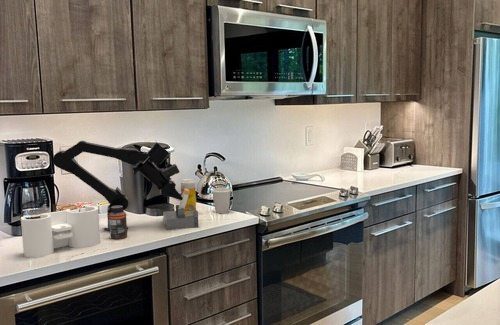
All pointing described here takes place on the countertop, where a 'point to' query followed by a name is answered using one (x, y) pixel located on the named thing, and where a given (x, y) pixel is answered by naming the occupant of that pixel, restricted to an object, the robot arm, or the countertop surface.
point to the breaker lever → (184, 198)
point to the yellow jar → (190, 186)
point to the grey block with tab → (181, 218)
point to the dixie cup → (221, 200)
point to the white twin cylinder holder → (60, 231)
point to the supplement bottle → (117, 222)
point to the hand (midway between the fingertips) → (181, 199)
